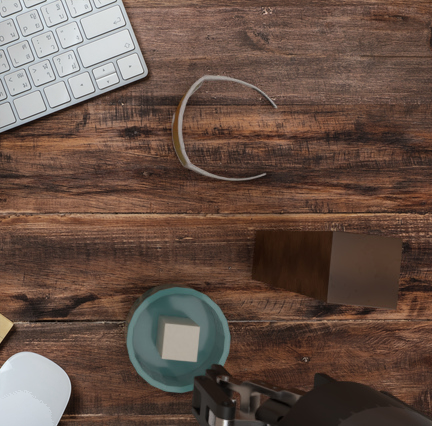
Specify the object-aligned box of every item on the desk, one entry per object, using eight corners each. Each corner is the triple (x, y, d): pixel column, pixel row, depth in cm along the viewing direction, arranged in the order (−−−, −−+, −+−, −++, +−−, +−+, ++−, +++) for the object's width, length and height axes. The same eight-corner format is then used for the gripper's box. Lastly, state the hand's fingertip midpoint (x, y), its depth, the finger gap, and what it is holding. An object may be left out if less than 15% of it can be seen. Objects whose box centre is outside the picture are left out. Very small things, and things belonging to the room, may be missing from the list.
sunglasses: (176, 73, 69) (187, 62, 64) (271, 96, 71) (290, 88, 66) (159, 170, 68) (169, 166, 63) (255, 190, 71) (273, 188, 66)
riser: (299, 284, 68) (397, 310, 47) (251, 279, 68) (326, 302, 46) (303, 235, 69) (403, 238, 47) (256, 230, 68) (333, 230, 47)
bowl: (215, 384, 68) (225, 397, 63) (119, 375, 67) (121, 387, 62) (224, 288, 68) (235, 293, 63) (129, 278, 68) (132, 282, 63)
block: (187, 350, 67) (196, 362, 61) (155, 347, 67) (161, 358, 61) (190, 318, 67) (200, 326, 61) (158, 314, 67) (165, 323, 61)
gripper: (235, 559, 22) (175, 420, 38) (531, 580, 23) (348, 434, 39) (249, 396, 23) (183, 326, 39) (540, 421, 23) (355, 341, 39)
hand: (266, 380), depth 39 cm, fingers open, 8 cm apart
